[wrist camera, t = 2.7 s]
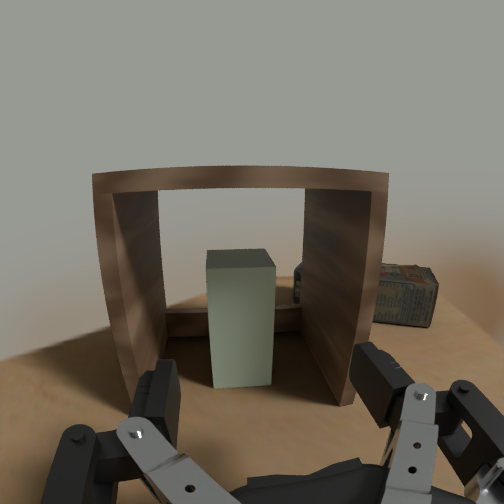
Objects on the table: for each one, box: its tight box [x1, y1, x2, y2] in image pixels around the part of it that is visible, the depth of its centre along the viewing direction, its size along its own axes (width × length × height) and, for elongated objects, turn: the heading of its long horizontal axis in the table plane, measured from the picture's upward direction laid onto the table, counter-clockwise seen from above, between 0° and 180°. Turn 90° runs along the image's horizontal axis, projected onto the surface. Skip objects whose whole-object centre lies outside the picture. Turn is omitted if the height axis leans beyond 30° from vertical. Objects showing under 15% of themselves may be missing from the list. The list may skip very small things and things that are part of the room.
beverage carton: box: [292, 262, 439, 327], centre depth 38 cm, size 8×19×7 cm, turn 67°
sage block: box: [206, 249, 276, 388], centre depth 25 cm, size 5×5×11 cm
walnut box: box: [92, 166, 389, 406], centre depth 25 cm, size 17×14×18 cm
